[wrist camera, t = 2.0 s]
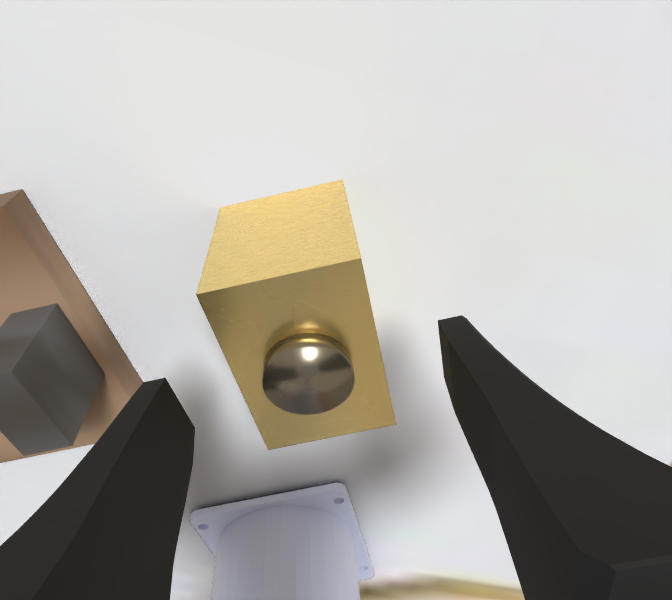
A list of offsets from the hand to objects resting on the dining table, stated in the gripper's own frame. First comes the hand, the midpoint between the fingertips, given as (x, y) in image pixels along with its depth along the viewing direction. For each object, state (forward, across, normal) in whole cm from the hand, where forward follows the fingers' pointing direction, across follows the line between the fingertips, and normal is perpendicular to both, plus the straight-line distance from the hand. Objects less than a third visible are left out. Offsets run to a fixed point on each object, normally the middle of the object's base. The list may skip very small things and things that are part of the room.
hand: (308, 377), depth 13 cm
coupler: (+6, 0, 0) cm, 6 cm away
